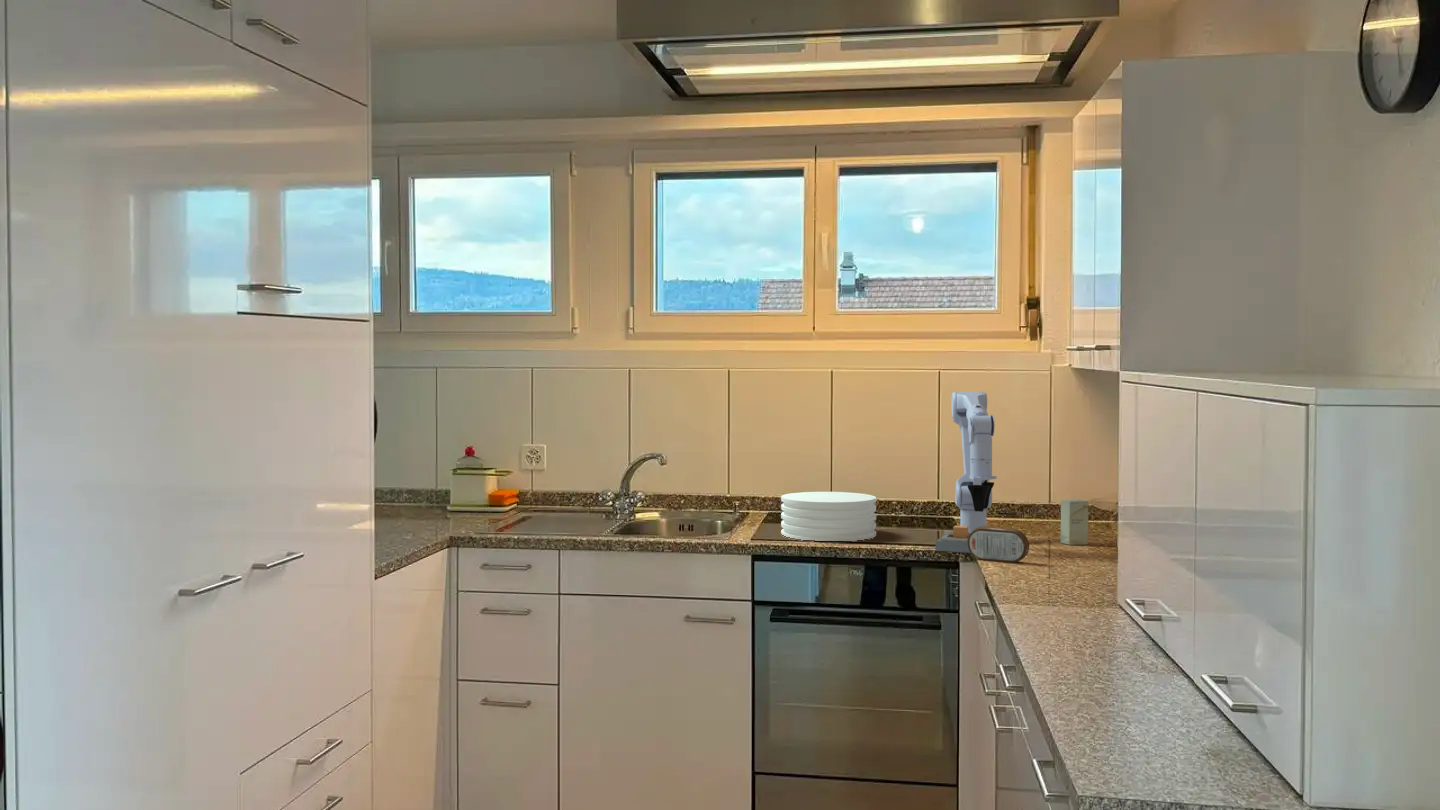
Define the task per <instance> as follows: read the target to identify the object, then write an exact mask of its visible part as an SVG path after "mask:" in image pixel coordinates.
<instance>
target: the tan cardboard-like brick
mask: <svg viewBox="0 0 1440 810" xmlns="http://www.w3.org/2000/svg"><path fill="white" fill-rule="evenodd" d="M952 531H953V538H968V526H960V525H954V526H953V527H952Z"/></svg>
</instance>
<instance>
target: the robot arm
mask: <svg viewBox="0 0 1440 810" xmlns="http://www.w3.org/2000/svg"><path fill="white" fill-rule="evenodd" d="M950 401H951V403H950V404H951V415H952V416H951V417H952V421H953V423H955V424H957V425H958V428H959V431H960V434H961V435H960V436H961V449H962V460H963V461H962V462H963V475H961V476H960V477H959V478H957V480H956V482H955V485H954V487H955V489H954V501H955V502H954V503H955V506H956V507H958V508H959V509H960V514H959V516H960V518H959V520H960V521H959V523H960V524H959V526H968V532H972V531H973V530H974V529H976V528H978V527H981V526H987V510H988V508H990V507H992V504H993V487H994V485H995V482H991V480H997V478H998V477H997V475H993V437H994V435H995V425H996V424H995V417H994V415H993V414H990V415H989V413H988V411H987V409H988V395H987V393H986V392H985V391H953V392H952V393H951V400H950Z"/></svg>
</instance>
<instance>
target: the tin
mask: <svg viewBox="0 0 1440 810" xmlns="http://www.w3.org/2000/svg"><path fill="white" fill-rule="evenodd" d="M967 545H968V549H969V551H970V553H969V554H971V555H972V556H973V557H974V558H975V559H978V560H981V561H988V562H989V561H990V562H1002V563H1011V564H1012V563H1013V564H1014V563H1018V562H1020V561H1022V560H1023V559H1025V558H1026V557H1027V555H1028V553H1029V550H1030V543H1029V540H1028V537H1027V536H1026V534H1024V532H1022V531H1021V530H1019V529H1016V528H1009V527H998V526H997V527H996V526H988V525H986V526H981V527H978V528H976V529H974V530H973V531H972V532H971V533H970V535H969V537H968V540H967Z"/></svg>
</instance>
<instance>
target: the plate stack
mask: <svg viewBox="0 0 1440 810" xmlns="http://www.w3.org/2000/svg"><path fill="white" fill-rule="evenodd" d="M780 501H781V505H780V510H782V512H781V514H780V519H782V520H781V522H780V523H781V524H780V527H781V528H782V529H781V530H780V534H782V535H784V536H786V537H790V538H795V539H801V540H800V541H803V540H815V541H852V542H858V541H857V540H863V541H865V540H864V539H868V540H870V539H869V538H872V539H874V538H873V537H875V536H876V537H877V531H876V530H875V529H876V528H877V523H876V522H875V521H876V520H877V514H876V513H875V512H877V506H876V503H877V496H874V495H872V494H869V493H868V494H867V493H859V492H848V491H847V492H846V491H802V492H792V493H791V492H790V493H785V494H781V496H780ZM782 535H781V536H782ZM784 536H783V537H784ZM786 537H785V538H786ZM876 537H875V538H876ZM790 538H789V539H790ZM795 539H794V540H795Z"/></svg>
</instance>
